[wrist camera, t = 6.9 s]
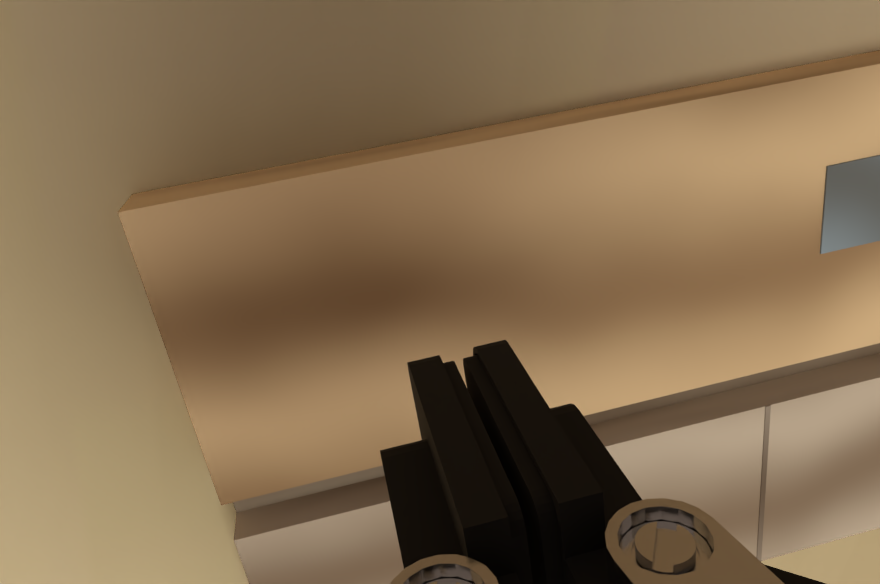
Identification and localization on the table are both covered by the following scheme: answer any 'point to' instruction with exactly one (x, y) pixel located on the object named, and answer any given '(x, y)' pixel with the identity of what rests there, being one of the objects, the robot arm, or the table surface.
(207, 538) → the table surface
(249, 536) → the floor row
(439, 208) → the board
